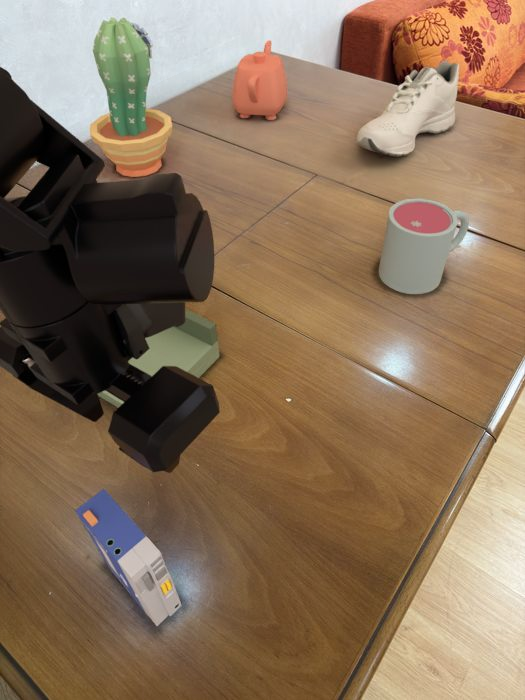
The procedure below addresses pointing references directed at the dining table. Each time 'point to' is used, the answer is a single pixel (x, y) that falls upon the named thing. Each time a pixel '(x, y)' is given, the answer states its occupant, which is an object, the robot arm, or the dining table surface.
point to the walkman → (130, 556)
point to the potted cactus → (128, 100)
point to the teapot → (260, 84)
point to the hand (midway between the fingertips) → (133, 441)
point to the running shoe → (414, 111)
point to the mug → (419, 244)
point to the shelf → (178, 350)
